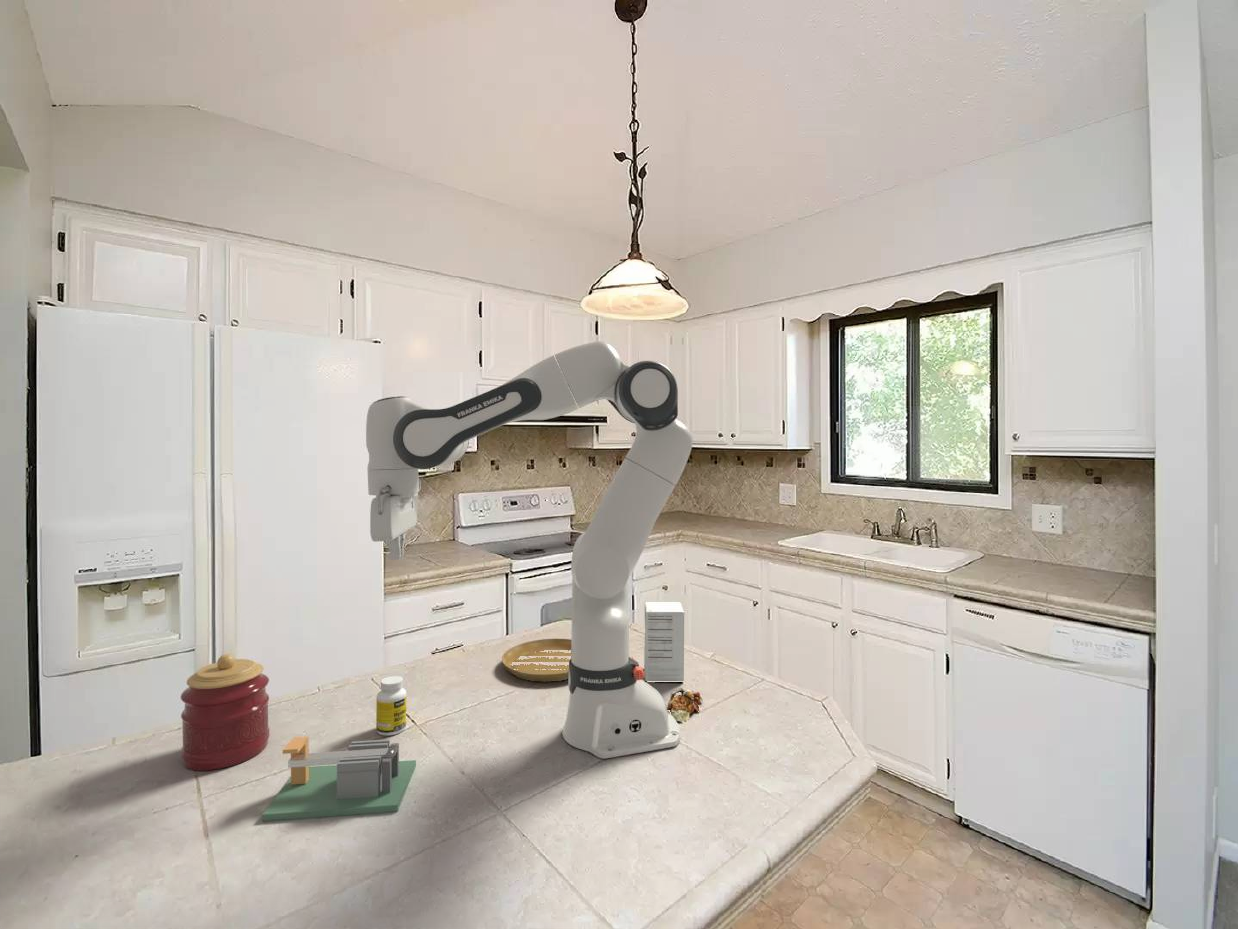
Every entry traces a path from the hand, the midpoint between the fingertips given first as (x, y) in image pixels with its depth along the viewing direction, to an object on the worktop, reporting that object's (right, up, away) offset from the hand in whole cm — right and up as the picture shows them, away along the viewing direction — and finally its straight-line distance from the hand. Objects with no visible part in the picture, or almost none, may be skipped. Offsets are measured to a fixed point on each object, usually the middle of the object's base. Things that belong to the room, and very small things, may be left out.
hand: (396, 558), depth 107 cm
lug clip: (-9, -33, -17) cm, 39 cm away
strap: (-2, -30, -16) cm, 34 cm away
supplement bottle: (-3, -34, +4) cm, 34 cm away
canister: (-29, -34, -5) cm, 45 cm away
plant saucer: (+24, -34, +37) cm, 56 cm away
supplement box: (+52, -34, +31) cm, 70 cm away
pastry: (+55, -35, +13) cm, 67 cm away
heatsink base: (-2, -35, -16) cm, 38 cm away
